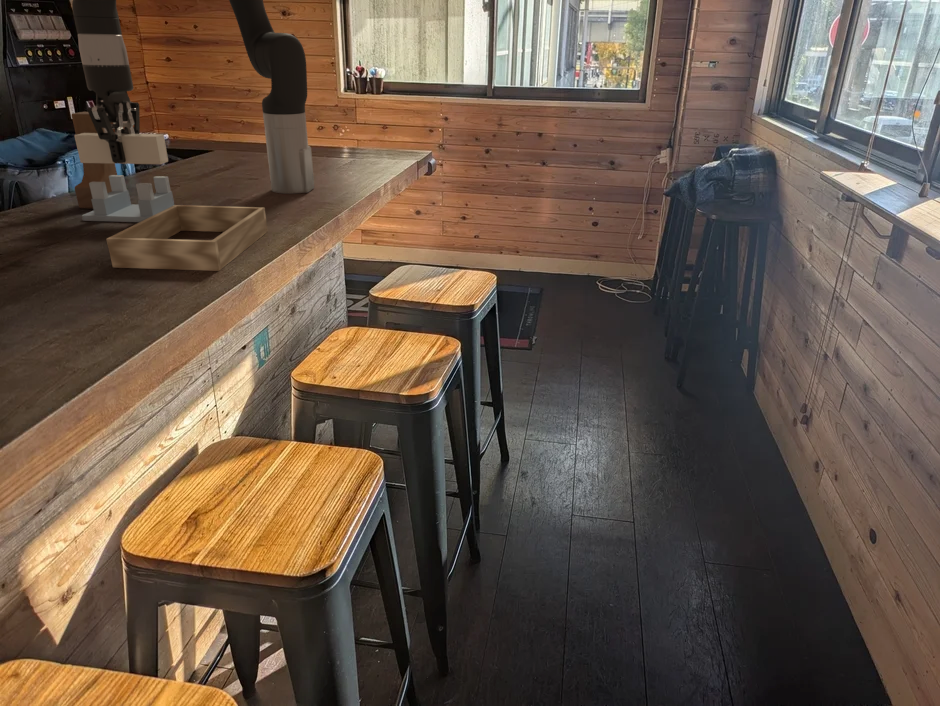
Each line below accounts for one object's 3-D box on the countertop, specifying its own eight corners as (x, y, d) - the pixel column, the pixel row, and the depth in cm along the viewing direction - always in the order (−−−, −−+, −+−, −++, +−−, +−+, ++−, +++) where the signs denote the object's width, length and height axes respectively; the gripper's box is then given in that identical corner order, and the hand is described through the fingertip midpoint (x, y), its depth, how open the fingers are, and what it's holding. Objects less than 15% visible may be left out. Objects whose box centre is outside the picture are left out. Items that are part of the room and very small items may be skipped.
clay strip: (168, 161, 126) (163, 134, 124) (160, 164, 123) (155, 136, 121) (90, 159, 125) (84, 132, 123) (80, 162, 122) (74, 135, 120)
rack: (187, 210, 133) (181, 175, 130) (164, 222, 124) (157, 185, 121) (111, 208, 133) (103, 173, 130) (82, 220, 124) (73, 183, 121)
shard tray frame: (267, 231, 119) (264, 207, 117) (219, 270, 99) (214, 242, 97) (179, 229, 120) (174, 205, 118) (112, 267, 100) (106, 238, 98)
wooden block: (99, 209, 133) (78, 116, 125) (78, 208, 133) (55, 115, 125) (123, 199, 141) (104, 111, 133) (103, 199, 141) (83, 111, 133)
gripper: (104, 64, 110) (125, 167, 118) (145, 62, 123) (162, 155, 130) (61, 62, 110) (84, 166, 118) (106, 61, 123) (125, 154, 131)
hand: (125, 160), depth 124 cm, fingers closed on clay strip, 3 cm apart
